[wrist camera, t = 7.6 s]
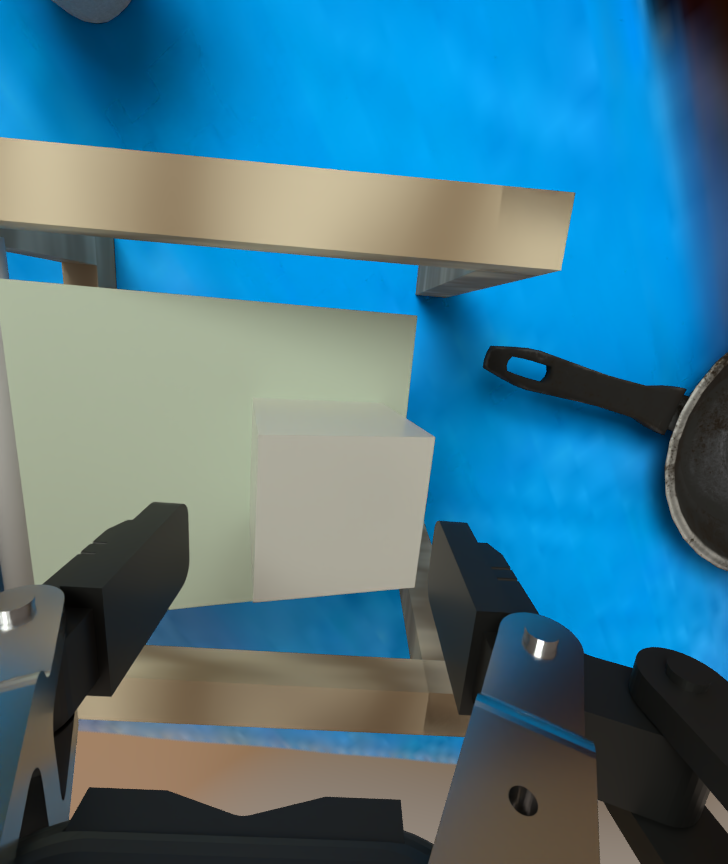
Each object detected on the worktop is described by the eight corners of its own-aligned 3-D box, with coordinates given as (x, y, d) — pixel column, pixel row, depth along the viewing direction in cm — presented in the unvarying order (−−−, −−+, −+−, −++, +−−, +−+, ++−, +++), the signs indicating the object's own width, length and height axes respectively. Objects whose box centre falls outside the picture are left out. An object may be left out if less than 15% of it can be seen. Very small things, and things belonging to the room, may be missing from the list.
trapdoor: (-62, 593, 19) (-162, 687, 14) (-133, 233, 15) (-300, 199, 10) (360, 558, 24) (389, 618, 19) (384, 288, 20) (427, 282, 16)
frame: (103, 514, 31) (-148, 708, 16) (80, 231, 26) (-315, 106, 11) (416, 534, 32) (473, 737, 16) (450, 264, 27) (575, 192, 12)
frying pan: (811, 580, 34) (866, 612, 30) (427, 479, 31) (437, 500, 27) (956, 347, 29) (1040, 351, 26) (521, 203, 26) (548, 185, 23)
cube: (249, 522, 17) (253, 602, 12) (252, 397, 16) (258, 434, 11) (370, 517, 18) (414, 587, 14) (382, 402, 17) (435, 437, 12)
